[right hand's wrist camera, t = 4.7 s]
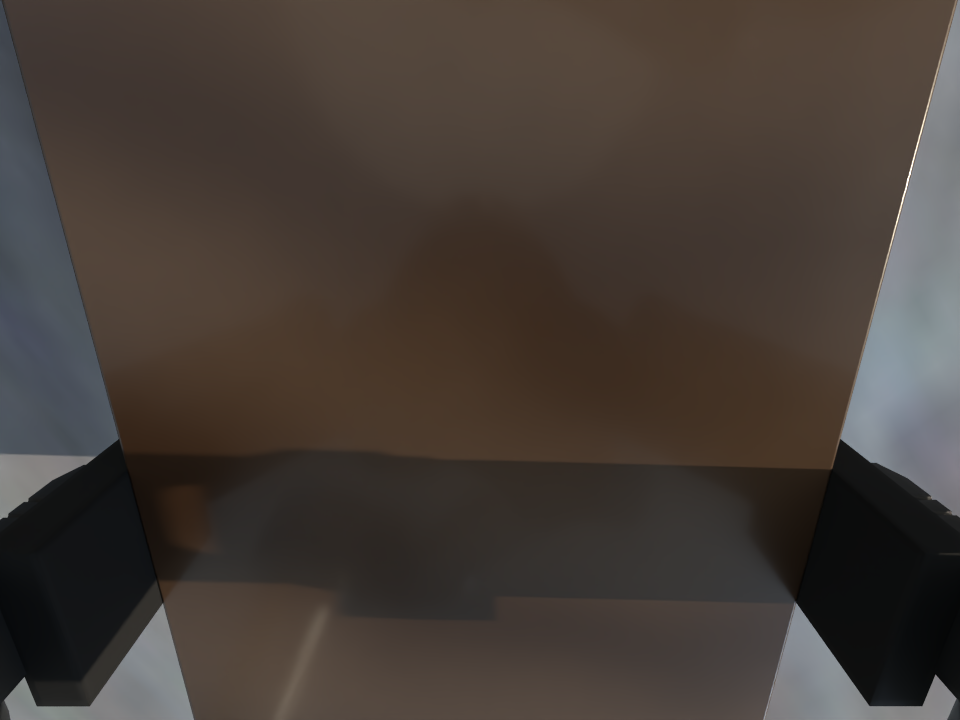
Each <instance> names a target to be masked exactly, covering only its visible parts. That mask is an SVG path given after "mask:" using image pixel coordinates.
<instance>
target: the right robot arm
mask: <svg viewBox="0 0 960 720" xmlns="http://www.w3.org/2000/svg"><path fill="white" fill-rule="evenodd" d="M8 515H9V516H8V518H2V519H1V520H0V720H10V715H9V710H8V708H7V706H6V704H5V701H4V699H5V698H6V697H7V696H8V695H9V694H10V693H11V691H12V690H13V689H14V688H15V687H16V686H17V685H18V683H19V682H20V681H21V680H22V679H23V678H24V677H25V679H26V681H27V684H28V686H29V688H30V691H31V693H32V696H33V698H34V700H35V703H36V705H37V706H90V705H91V704H92V702H93V701H94V699H95V698H96V697H97V695H98V694H99V692H100V691H101V689H102V688H103V687H104V685H105V684H106V682H107V681H108V680H109V678H110V677H111V675H112V674H113V673H114V671H115V670H116V668H117V667H118V666H119V664H120V663H121V661H122V660H123V658H124V657H125V656H126V654H127V653H128V651H129V650H130V649H131V647H132V646H133V644H134V643H135V642H136V640H137V639H138V637H139V636H140V634H141V633H142V632H143V630H144V629H145V627H146V626H147V625H148V623H149V622H150V620H151V619H152V618H153V616H154V615H155V613H156V612H157V610H158V609H159V608H160V606H161V605H162V603H163V601H162V597H161V593H160V590H159V586H158V582H157V578H156V575H155V571H154V567H153V564H152V560H151V556H150V552H149V549H148V545H147V541H146V537H145V534H144V530H143V526H142V522H141V519H140V515H139V511H138V507H137V504H136V500H135V496H134V493H133V489H132V485H131V481H130V478H129V474H128V470H127V466H126V463H125V459H124V455H123V451H122V448H121V444H120V440H119V439H118V440H117V441H116V442H115V443H113V444H112V445H111V446H110V447H108V448H107V449H106V450H104V451H103V452H102V453H101V454H99V455H98V456H97V457H96V458H94V459H93V460H92V461H90V462H89V463H88V464H87V465H83V466H81V467H79V468H77V469H75V470H72V471H70V472H68V473H66V474H64V475H62V476H60V477H58V478H56V479H54V480H52V481H51V482H50V483H48V484H47V485H46V486H44V487H43V488H42V489H40V490H39V491H38V492H36V493H35V494H34V495H33V496H31V497H30V498H29V501H28V502H23V503H22V504H21V505H19V506H18V507H17V508H15V509H14V510H13V511H11V512H10V513H9V514H8ZM796 603H797V604H798V606H799V607H800V608H801V610H802V611H803V613H804V614H805V616H806V617H807V618H808V620H809V621H810V623H811V624H812V625H813V627H814V628H815V630H816V631H817V632H818V634H819V635H820V637H821V638H822V640H823V641H824V642H825V644H826V645H827V647H828V648H829V649H830V651H831V652H832V654H833V655H834V656H835V658H836V659H837V661H838V662H839V664H840V665H841V666H842V668H843V669H844V671H845V672H846V673H847V675H848V676H849V678H850V679H851V680H852V682H853V683H854V685H855V686H856V688H857V689H858V690H859V692H860V693H861V695H862V696H863V697H864V699H865V700H866V702H867V703H868V704H869V706H923V703H924V701H925V698H926V696H927V694H928V691H929V689H930V686H931V684H932V681H933V679H934V677H935V674H936V675H937V677H938V678H939V679H940V680H941V681H942V682H943V683H944V684H945V686H946V687H947V688H948V689H949V690H950V691H951V692H952V694H953V695H954V696H955V697H956V698H957V699H956V701H955V704H954V706H953V708H952V710H951V713H950V715H949V717H948V719H947V720H960V518H959V517H958V516H957V515H952V513H951V511H950V510H949V509H947V508H946V507H945V506H944V505H942V504H941V503H940V502H938V501H937V500H932V499H931V496H930V495H929V494H928V493H926V492H925V491H924V490H922V489H921V488H920V487H918V486H917V485H916V484H914V483H913V482H912V481H910V480H909V479H908V478H906V477H904V476H902V475H900V474H898V473H896V472H894V471H891V470H889V469H887V468H885V467H883V466H881V465H879V464H877V463H870V462H869V461H868V460H866V459H865V458H864V457H863V456H861V455H860V454H859V453H857V452H856V451H855V450H854V449H852V448H851V447H850V446H849V445H847V444H846V443H845V442H843V441H842V440H841V439H840V441H839V445H838V449H837V452H836V456H835V460H834V464H833V467H832V471H831V475H830V479H829V482H828V486H827V490H826V494H825V497H824V501H823V505H822V508H821V512H820V516H819V520H818V523H817V527H816V531H815V535H814V538H813V542H812V546H811V550H810V553H809V557H808V561H807V564H806V568H805V572H804V576H803V579H802V583H801V587H800V591H799V594H798V598H797V602H796Z"/></svg>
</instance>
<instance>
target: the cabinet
mask: <svg viewBox="0 0 960 720" xmlns="http://www.w3.org/2000/svg"><path fill="white" fill-rule="evenodd" d="M957 1H958V0H2V3H3V7H4V10H5V14H6V18H7V22H8V25H9V29H10V33H11V37H12V40H13V44H14V48H15V52H16V55H17V59H18V63H19V67H20V70H21V74H22V78H23V81H24V85H25V89H26V93H27V96H28V100H29V104H30V108H31V111H32V115H33V119H34V123H35V126H36V130H37V134H38V138H39V141H40V145H41V149H42V152H43V156H44V160H45V164H46V167H47V171H48V175H49V179H50V182H51V186H52V190H53V194H54V197H55V201H56V205H57V209H58V212H59V216H60V220H61V223H62V227H63V231H64V235H65V238H66V242H67V246H68V250H69V253H70V257H71V261H72V265H73V268H74V272H75V276H76V280H77V283H78V287H79V291H80V294H81V298H82V302H83V306H84V309H85V313H86V317H87V321H88V324H89V328H90V332H91V336H92V339H93V343H94V347H95V351H96V354H97V358H98V362H99V365H100V369H101V373H102V377H103V380H104V384H105V388H106V392H107V395H108V399H109V403H110V407H111V410H112V414H113V418H114V422H115V425H116V429H117V433H118V436H119V440H120V444H121V448H122V451H123V455H124V459H125V463H126V466H127V470H128V474H129V478H130V481H131V485H132V489H133V493H134V496H135V500H136V504H137V507H138V511H139V515H140V519H141V522H142V526H143V530H144V534H145V537H146V541H147V545H148V549H149V552H150V556H151V560H152V564H153V567H154V571H155V575H156V578H157V582H158V586H159V590H160V593H161V597H162V601H163V605H164V608H165V612H166V616H167V620H168V623H169V627H170V631H171V635H172V638H173V642H174V646H175V649H176V653H177V657H178V661H179V664H180V668H181V672H182V676H183V679H184V683H185V687H186V691H187V694H188V698H189V702H190V706H191V709H192V713H193V717H194V720H765V717H766V714H767V710H768V706H769V703H770V699H771V695H772V691H773V688H774V684H775V680H776V676H777V673H778V669H779V665H780V661H781V658H782V654H783V650H784V647H785V643H786V639H787V635H788V632H789V628H790V624H791V620H792V617H793V613H794V609H795V606H796V602H797V598H798V594H799V591H800V587H801V583H802V579H803V576H804V572H805V568H806V564H807V561H808V557H809V553H810V550H811V546H812V542H813V538H814V535H815V531H816V527H817V523H818V520H819V516H820V512H821V508H822V505H823V501H824V497H825V494H826V490H827V486H828V482H829V479H830V475H831V471H832V467H833V464H834V460H835V456H836V452H837V449H838V445H839V441H840V438H841V434H842V430H843V426H844V423H845V419H846V415H847V411H848V408H849V404H850V400H851V396H852V393H853V389H854V385H855V382H856V378H857V374H858V370H859V367H860V363H861V359H862V355H863V352H864V348H865V344H866V341H867V337H868V333H869V329H870V326H871V322H872V318H873V314H874V311H875V307H876V303H877V299H878V296H879V292H880V288H881V285H882V281H883V277H884V273H885V270H886V266H887V262H888V258H889V255H890V251H891V247H892V243H893V240H894V236H895V232H896V229H897V225H898V221H899V217H900V214H901V210H902V206H903V202H904V199H905V195H906V191H907V187H908V184H909V180H910V176H911V173H912V169H913V165H914V161H915V158H916V154H917V150H918V146H919V143H920V139H921V135H922V131H923V128H924V124H925V120H926V117H927V113H928V109H929V105H930V102H931V98H932V94H933V90H934V87H935V83H936V79H937V76H938V72H939V68H940V64H941V61H942V57H943V53H944V49H945V46H946V42H947V38H948V34H949V31H950V27H951V23H952V20H953V16H954V12H955V8H956V5H957Z"/></svg>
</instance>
